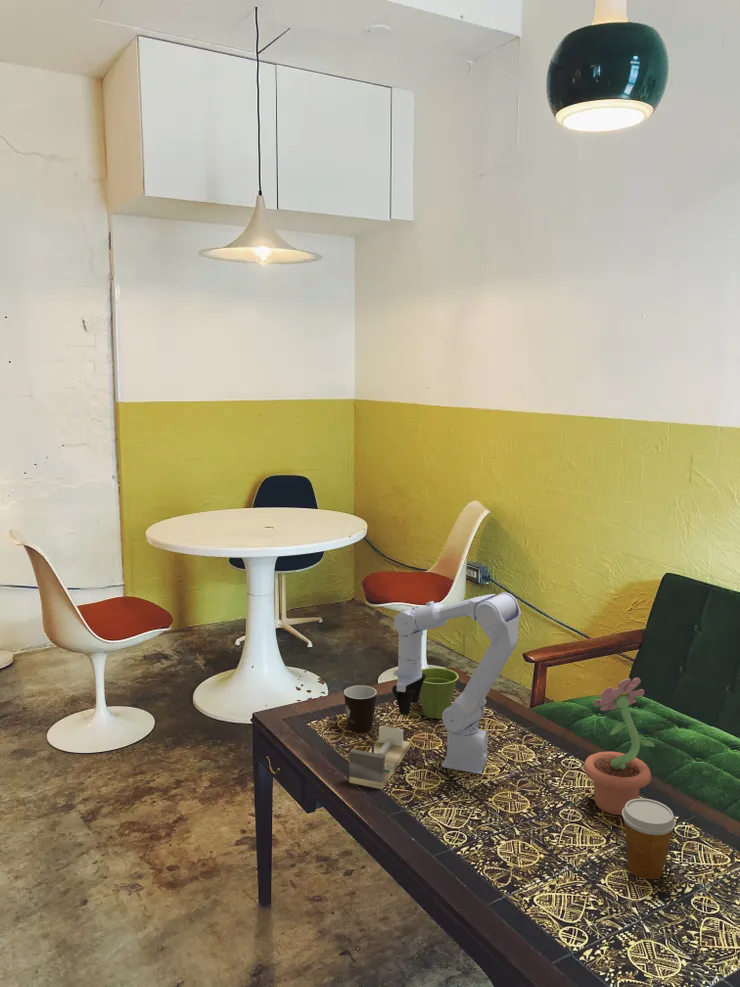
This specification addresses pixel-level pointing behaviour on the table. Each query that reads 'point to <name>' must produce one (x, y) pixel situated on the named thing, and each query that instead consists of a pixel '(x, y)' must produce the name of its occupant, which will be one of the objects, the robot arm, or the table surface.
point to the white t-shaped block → (389, 738)
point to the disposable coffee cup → (647, 836)
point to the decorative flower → (618, 755)
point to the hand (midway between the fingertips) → (409, 708)
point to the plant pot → (437, 691)
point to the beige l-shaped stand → (375, 764)
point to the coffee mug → (360, 708)
